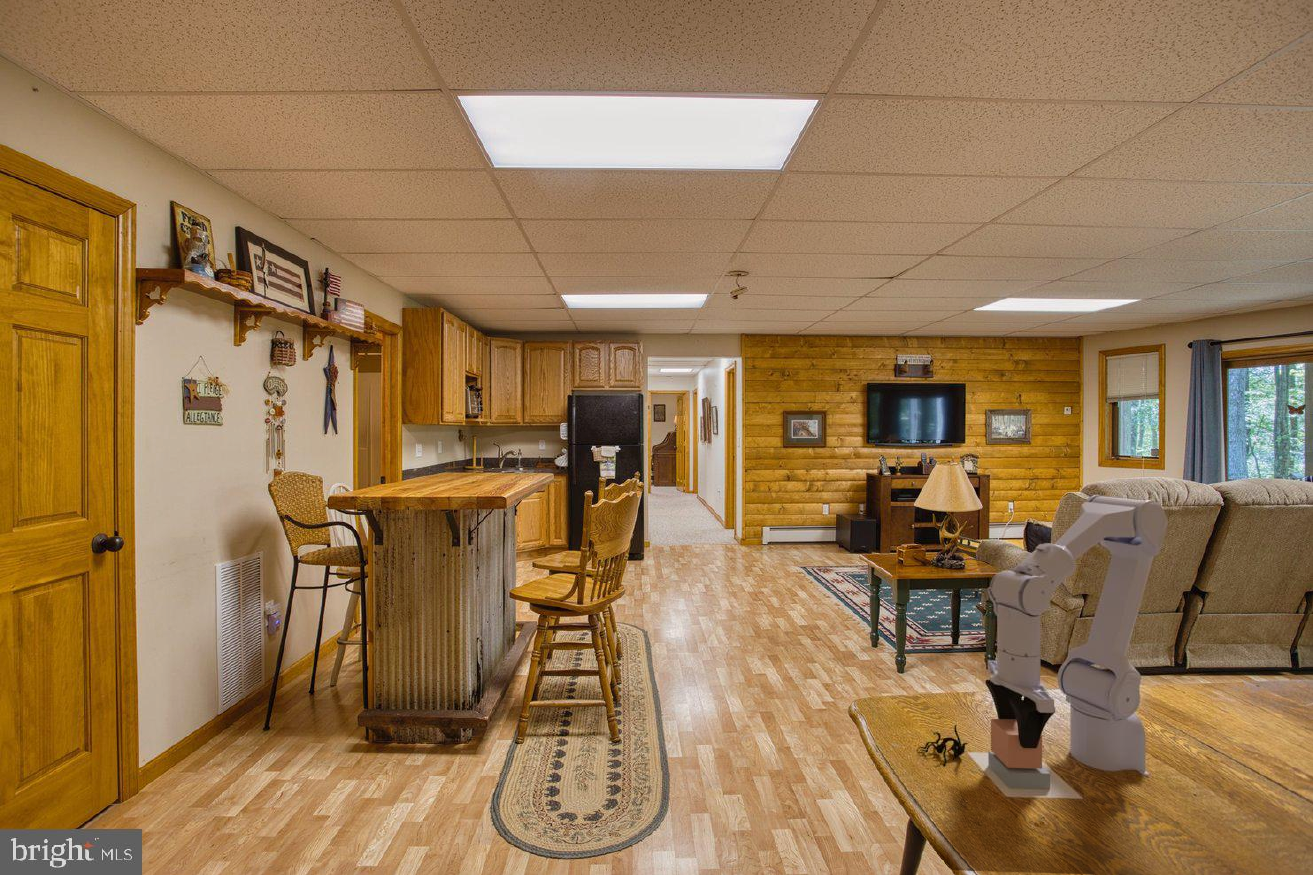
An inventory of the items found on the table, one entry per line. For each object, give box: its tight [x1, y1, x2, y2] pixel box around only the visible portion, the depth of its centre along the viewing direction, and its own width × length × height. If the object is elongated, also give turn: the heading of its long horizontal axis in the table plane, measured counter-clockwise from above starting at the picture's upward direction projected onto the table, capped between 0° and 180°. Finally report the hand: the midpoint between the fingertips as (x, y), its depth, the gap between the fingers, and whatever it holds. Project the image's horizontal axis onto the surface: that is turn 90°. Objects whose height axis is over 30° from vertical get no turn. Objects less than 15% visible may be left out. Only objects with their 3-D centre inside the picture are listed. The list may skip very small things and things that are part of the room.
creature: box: [916, 724, 969, 768], centre depth 98 cm, size 8×5×8 cm
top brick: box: [990, 718, 1043, 769], centre depth 91 cm, size 5×5×5 cm
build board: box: [966, 751, 1084, 800], centre depth 92 cm, size 11×12×1 cm
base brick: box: [987, 750, 1050, 790], centre depth 91 cm, size 6×6×2 cm
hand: (1018, 737), depth 91 cm, fingers closed on top brick, 5 cm apart
